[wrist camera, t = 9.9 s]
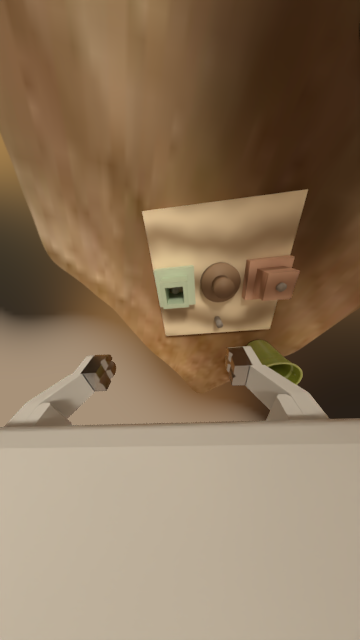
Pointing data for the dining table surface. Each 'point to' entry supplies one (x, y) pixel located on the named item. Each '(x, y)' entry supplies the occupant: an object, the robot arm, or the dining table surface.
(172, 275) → the pale green pipe fitting
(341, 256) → the dining table surface
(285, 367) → the plant pot
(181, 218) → the plate
